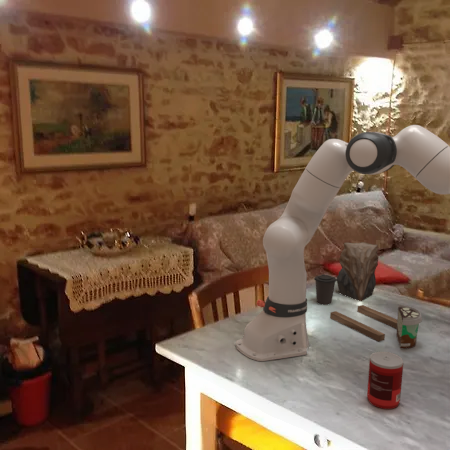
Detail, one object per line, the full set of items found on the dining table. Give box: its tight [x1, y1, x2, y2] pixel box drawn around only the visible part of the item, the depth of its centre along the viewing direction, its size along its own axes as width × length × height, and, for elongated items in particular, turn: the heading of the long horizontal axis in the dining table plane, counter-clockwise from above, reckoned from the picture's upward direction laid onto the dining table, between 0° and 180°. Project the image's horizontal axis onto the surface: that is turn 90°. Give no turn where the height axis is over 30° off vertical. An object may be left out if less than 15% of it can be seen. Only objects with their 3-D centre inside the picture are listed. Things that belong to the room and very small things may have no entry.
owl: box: [336, 241, 379, 302], centre depth 200 cm, size 13×13×20 cm
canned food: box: [366, 351, 404, 410], centre depth 124 cm, size 8×8×11 cm
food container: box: [396, 304, 423, 350], centre depth 157 cm, size 12×6×10 cm, turn 168°
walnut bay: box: [329, 304, 398, 343], centre depth 172 cm, size 15×22×2 cm
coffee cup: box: [313, 274, 337, 306], centre depth 192 cm, size 8×8×10 cm
